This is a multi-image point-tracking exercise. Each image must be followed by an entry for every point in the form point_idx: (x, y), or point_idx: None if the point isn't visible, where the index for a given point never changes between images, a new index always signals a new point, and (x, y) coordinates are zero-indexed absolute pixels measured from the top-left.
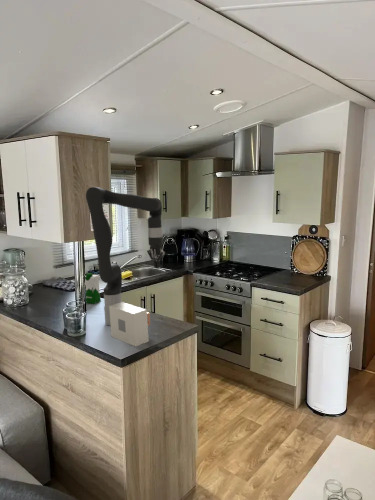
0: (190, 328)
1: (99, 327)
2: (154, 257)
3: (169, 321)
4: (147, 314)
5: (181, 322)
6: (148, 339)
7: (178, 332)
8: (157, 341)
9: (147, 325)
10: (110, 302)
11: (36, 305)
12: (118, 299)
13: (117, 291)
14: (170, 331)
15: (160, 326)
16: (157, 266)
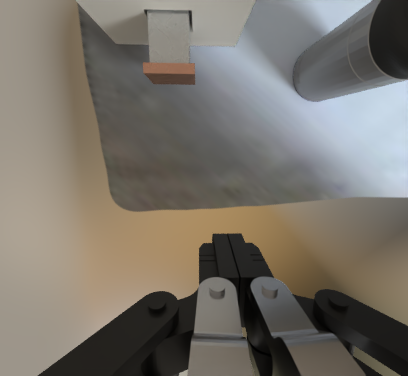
0: (111, 190)
1: (331, 14)
2: (270, 338)
3: (196, 191)
4: (146, 64)
5: (164, 206)
6: (114, 41)
7: (111, 150)
8: (98, 63)
9: (93, 18)
10: (362, 8)
11: None
12: (348, 46)
13: (382, 23)
14: (133, 140)
15: (185, 149)
16: (200, 249)
